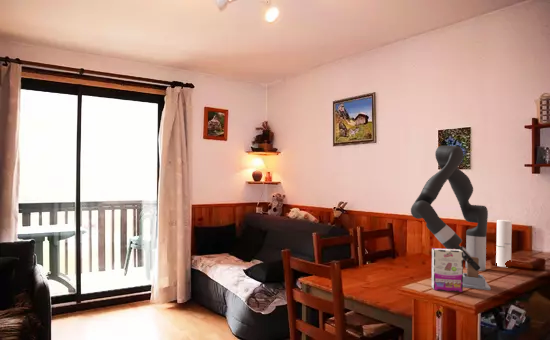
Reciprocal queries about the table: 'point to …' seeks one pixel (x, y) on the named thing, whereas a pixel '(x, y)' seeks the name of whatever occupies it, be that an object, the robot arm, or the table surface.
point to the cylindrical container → (503, 242)
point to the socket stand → (475, 282)
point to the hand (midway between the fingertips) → (477, 268)
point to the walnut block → (470, 270)
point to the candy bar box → (447, 269)
